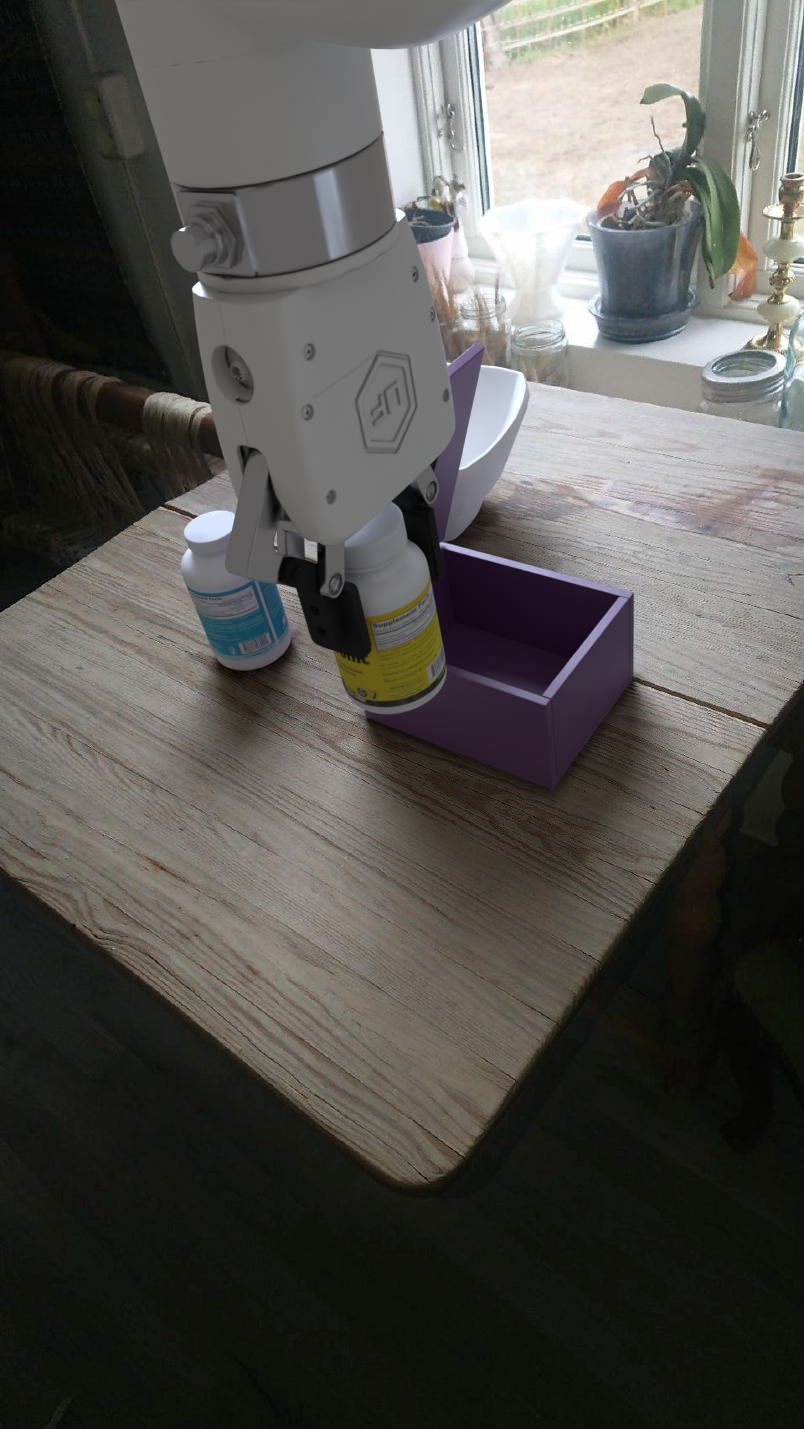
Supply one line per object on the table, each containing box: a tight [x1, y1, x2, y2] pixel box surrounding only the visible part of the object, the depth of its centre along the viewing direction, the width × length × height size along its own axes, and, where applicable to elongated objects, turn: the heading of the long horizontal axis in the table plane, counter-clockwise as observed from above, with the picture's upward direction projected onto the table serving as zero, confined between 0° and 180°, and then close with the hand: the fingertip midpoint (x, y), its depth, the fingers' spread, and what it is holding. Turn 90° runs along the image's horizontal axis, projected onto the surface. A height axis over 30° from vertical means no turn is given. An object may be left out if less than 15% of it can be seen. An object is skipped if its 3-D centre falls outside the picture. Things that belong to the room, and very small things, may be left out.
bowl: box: [442, 362, 531, 543], centre depth 97 cm, size 22×22×12 cm
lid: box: [429, 342, 485, 543], centre depth 71 cm, size 18×14×5 cm
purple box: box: [364, 542, 635, 791], centre depth 77 cm, size 18×14×9 cm
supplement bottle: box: [333, 502, 447, 714], centre depth 47 cm, size 5×5×10 cm
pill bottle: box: [180, 510, 292, 671], centre depth 86 cm, size 8×7×14 cm
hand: (379, 606), depth 47 cm, fingers closed on supplement bottle, 5 cm apart
